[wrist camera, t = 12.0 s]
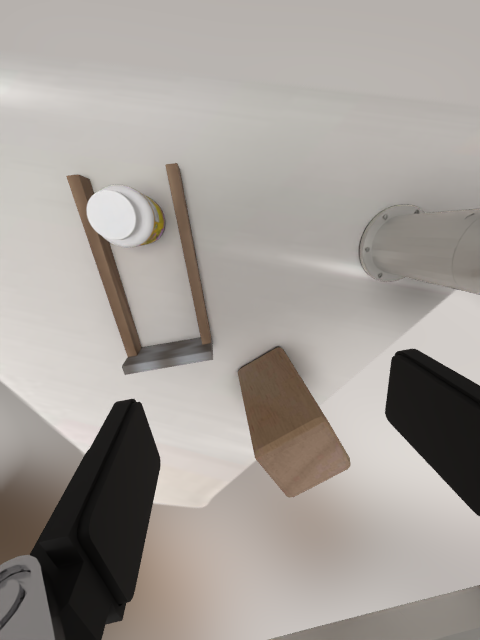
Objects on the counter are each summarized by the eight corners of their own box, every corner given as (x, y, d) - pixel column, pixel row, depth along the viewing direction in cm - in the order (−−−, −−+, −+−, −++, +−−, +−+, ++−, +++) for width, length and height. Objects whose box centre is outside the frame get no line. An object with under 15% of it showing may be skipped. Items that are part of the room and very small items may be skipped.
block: (235, 369, 47) (252, 460, 28) (279, 343, 46) (327, 420, 27) (259, 402, 50) (289, 503, 32) (300, 379, 50) (356, 468, 31)
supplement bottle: (132, 249, 37) (95, 258, 25) (111, 204, 35) (59, 190, 23) (173, 235, 37) (156, 238, 25) (155, 189, 35) (126, 168, 23)
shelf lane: (179, 168, 34) (173, 156, 29) (212, 343, 44) (212, 359, 39) (78, 180, 33) (52, 170, 28) (135, 356, 43) (124, 374, 38)
